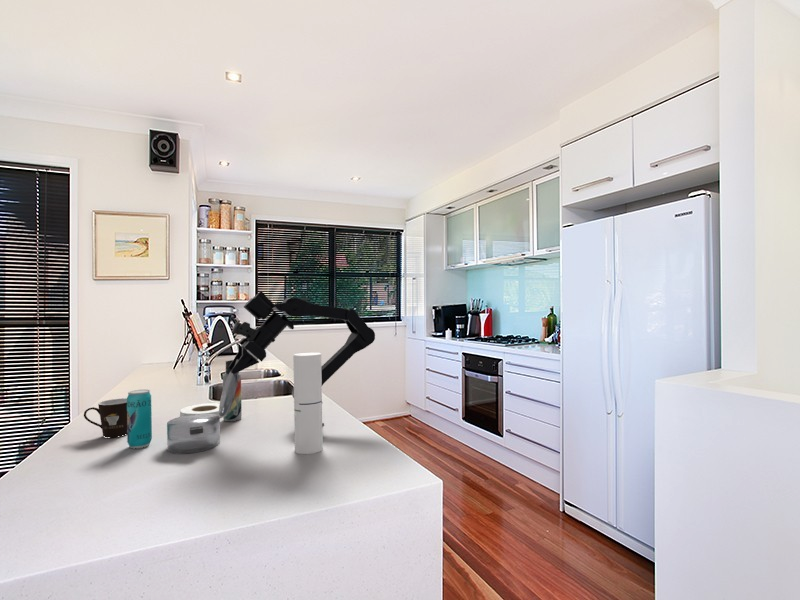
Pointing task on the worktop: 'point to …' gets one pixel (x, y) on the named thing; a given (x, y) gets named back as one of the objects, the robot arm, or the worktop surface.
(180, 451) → the pot
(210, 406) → the roll of tape
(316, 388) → the cylindrical container
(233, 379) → the lid
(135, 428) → the beverage can
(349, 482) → the worktop surface
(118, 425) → the coffee mug
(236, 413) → the lotion bottle
